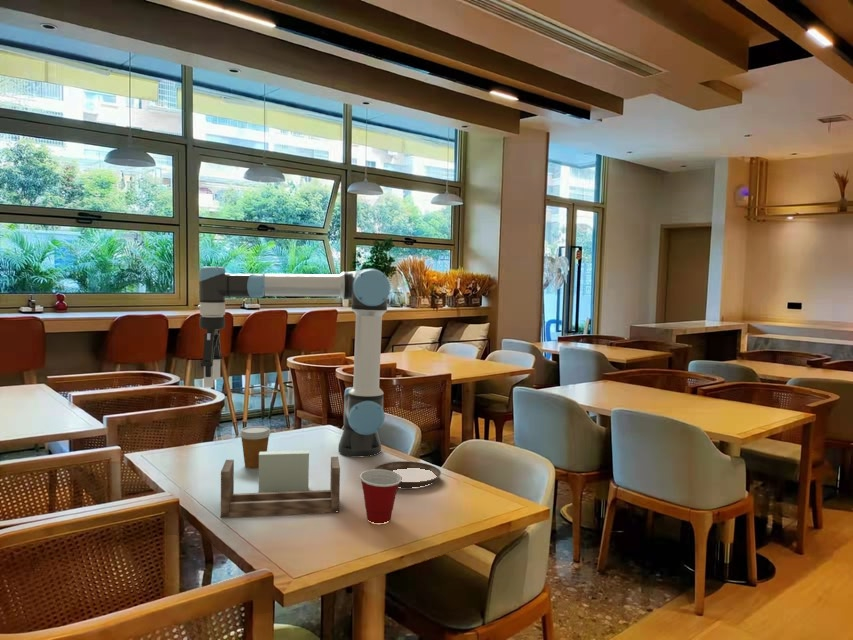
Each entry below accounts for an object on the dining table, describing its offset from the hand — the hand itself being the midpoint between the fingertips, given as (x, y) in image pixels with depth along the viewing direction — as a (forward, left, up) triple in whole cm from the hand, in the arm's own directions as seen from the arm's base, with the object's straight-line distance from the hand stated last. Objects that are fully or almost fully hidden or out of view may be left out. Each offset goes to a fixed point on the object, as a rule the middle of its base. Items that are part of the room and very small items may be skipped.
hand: (212, 383), depth 192 cm
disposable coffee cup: (-13, -1, -28) cm, 31 cm away
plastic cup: (-48, +48, -28) cm, 73 cm away
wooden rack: (-23, +36, -27) cm, 51 cm away
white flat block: (-23, +22, -27) cm, 42 cm away
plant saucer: (-60, +18, -28) cm, 69 cm away
